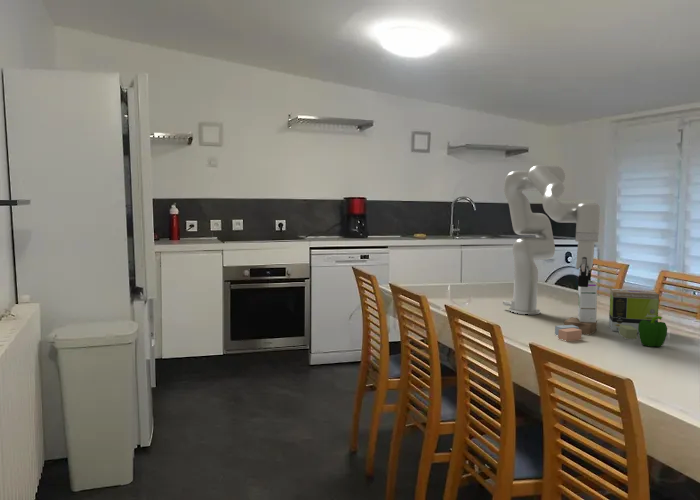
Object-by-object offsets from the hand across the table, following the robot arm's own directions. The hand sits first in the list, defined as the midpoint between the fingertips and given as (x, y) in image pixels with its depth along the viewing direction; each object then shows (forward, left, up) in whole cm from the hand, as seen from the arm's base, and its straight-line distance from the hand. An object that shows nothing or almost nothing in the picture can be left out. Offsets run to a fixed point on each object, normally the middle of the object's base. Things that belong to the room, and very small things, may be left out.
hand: (584, 285), depth 202 cm
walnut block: (-1, 0, -17) cm, 17 cm away
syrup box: (+1, +1, -13) cm, 13 cm away
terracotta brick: (-2, -16, -17) cm, 23 cm away
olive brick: (+15, -1, -17) cm, 23 cm away
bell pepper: (+22, -11, -17) cm, 30 cm away
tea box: (+16, +11, -17) cm, 26 cm away
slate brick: (-4, -11, -17) cm, 21 cm away
